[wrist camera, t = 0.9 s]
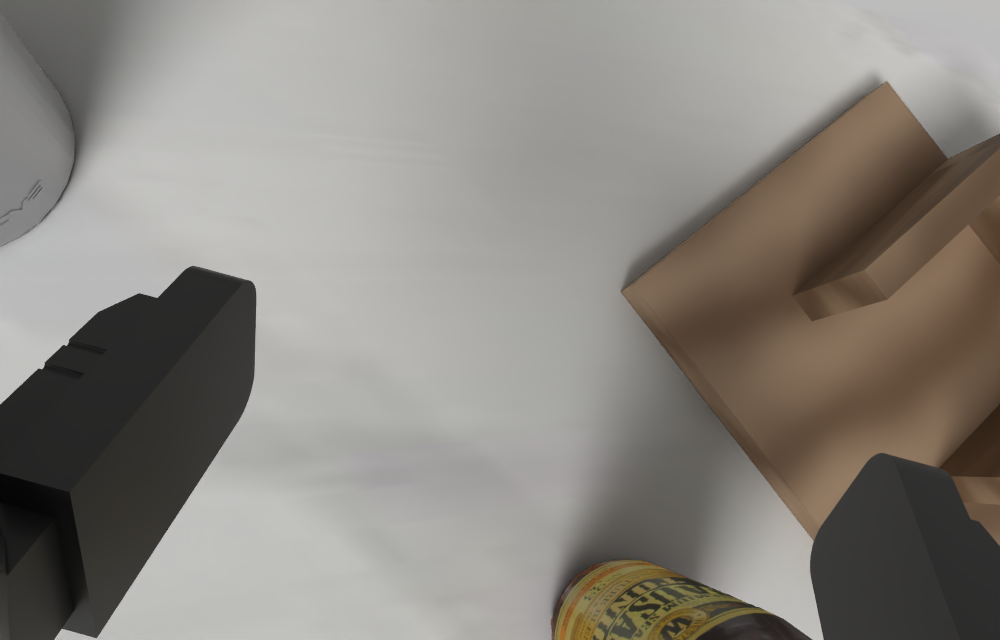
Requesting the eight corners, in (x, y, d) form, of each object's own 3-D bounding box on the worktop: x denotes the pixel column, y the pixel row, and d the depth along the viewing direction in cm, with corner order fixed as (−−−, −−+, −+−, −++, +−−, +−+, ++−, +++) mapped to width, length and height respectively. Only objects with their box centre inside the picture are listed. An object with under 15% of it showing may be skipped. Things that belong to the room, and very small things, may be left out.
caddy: (620, 291, 35) (683, 255, 29) (867, 94, 40) (965, 27, 34) (915, 671, 35) (1042, 717, 29) (1125, 426, 40) (1273, 420, 34)
